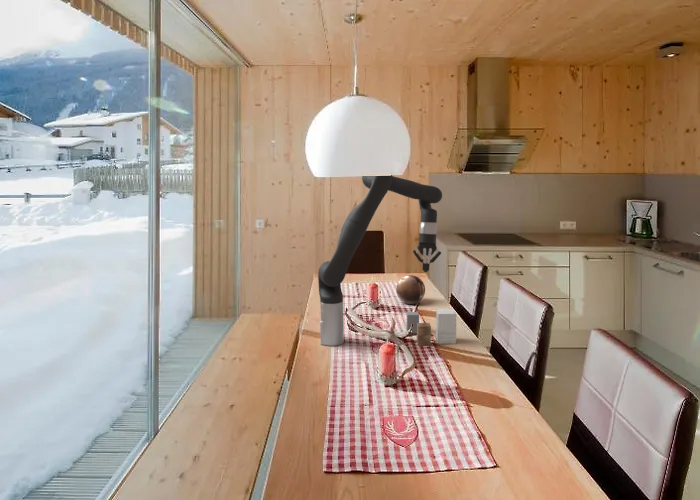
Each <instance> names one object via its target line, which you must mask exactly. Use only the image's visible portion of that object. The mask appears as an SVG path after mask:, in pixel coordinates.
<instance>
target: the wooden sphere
mask: <svg viewBox="0 0 700 500" xmlns="http://www.w3.org/2000/svg"><path fill="white" fill-rule="evenodd" d="M395 289H396V291H395V292H396V295H397V298H398V299H399V300H400V301H401V302H403V303H404V304H407V305H415V304H418V303H419V302H420V301H422V299H423V298H424V296H425V295H426V294H425V293H426V286H425V283H424V281H423V280H422V279H421V278H419V277H418V276H416V275H411V274H410V275H406V276H403V277H401V278H400V279H399V280H398V282H397V284H396V287H395Z"/></svg>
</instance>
